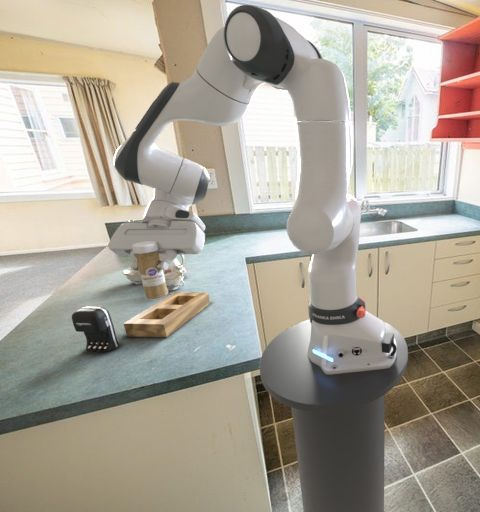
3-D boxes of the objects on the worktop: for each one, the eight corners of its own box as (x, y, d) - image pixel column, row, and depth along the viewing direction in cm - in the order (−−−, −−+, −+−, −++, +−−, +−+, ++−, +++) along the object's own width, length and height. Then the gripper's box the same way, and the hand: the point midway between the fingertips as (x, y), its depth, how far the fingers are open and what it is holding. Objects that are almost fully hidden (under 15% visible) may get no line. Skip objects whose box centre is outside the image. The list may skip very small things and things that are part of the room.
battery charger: (80, 353, 73) (65, 312, 70) (95, 344, 77) (82, 305, 74) (107, 354, 73) (93, 313, 70) (121, 345, 77) (108, 306, 73)
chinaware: (117, 290, 113) (99, 250, 106) (157, 271, 128) (144, 234, 121) (176, 298, 107) (162, 256, 100) (211, 277, 121) (200, 239, 115)
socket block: (210, 303, 99) (207, 292, 98) (166, 337, 80) (163, 324, 79) (177, 303, 100) (175, 292, 98) (127, 336, 81) (123, 323, 80)
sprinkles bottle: (150, 301, 69) (136, 246, 65) (142, 297, 72) (128, 243, 67) (172, 294, 73) (160, 242, 69) (164, 290, 75) (151, 239, 71)
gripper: (113, 213, 72) (90, 264, 66) (200, 212, 74) (186, 262, 67) (131, 227, 78) (112, 275, 71) (212, 226, 79) (200, 273, 73)
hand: (149, 269), depth 69 cm, fingers closed on sprinkles bottle, 4 cm apart
